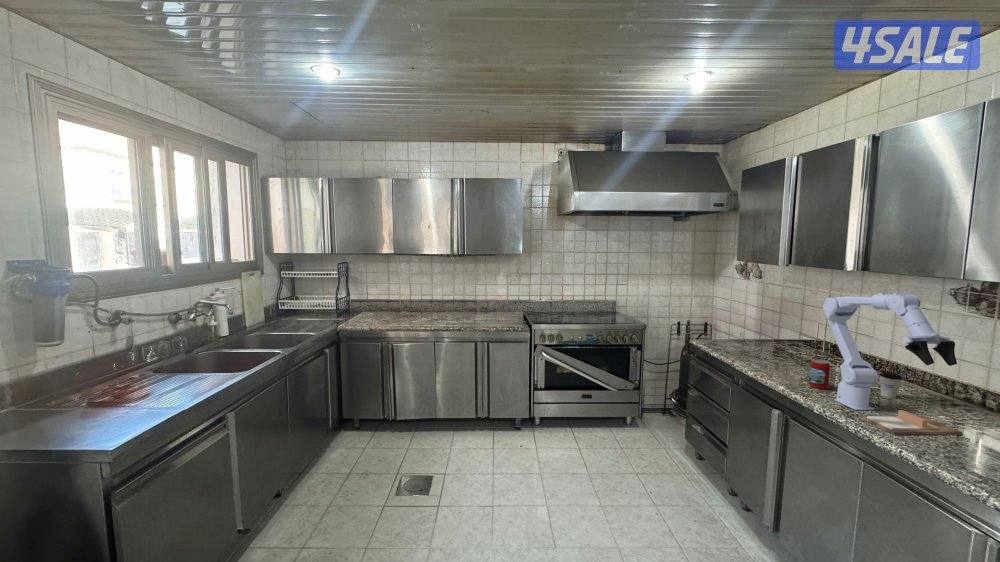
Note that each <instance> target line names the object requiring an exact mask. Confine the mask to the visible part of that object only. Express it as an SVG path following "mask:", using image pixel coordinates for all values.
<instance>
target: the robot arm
mask: <svg viewBox="0 0 1000 562" xmlns="http://www.w3.org/2000/svg"><path fill="white" fill-rule="evenodd" d="M921 304H922V303H921V299H920V298H919V296H917V295H915V294H910V293H908V294H900V293H899V292H895V293H894V292H893V293H889V294H888V293H886V292H879V293H876V294H873V295H872V296H857V295H856V296H852V295H851V296H836V297H835V296H834V297H828V298H826V299H825V301H824V303H823V306H822V309H823V311H824V313H825V316H826V318H827V323H828V325H829V328H830V330H831V332H832V334H833V337H834V340H835V342H836V344H837V345H836V346H837V347H838V349H839V352H840V353H841V356H842V358H843V363H842V364H841V365H840V366H839V368H840V371H841V373H840V374H841V375H840V376H841V378H842V380H841V381H840V382H839V383H838V385H837V392H836V398H834V401H835V402H838V403H839V404H842V405H844V406H846V407H848V408H851V409H853V410H855V411H875V410H876V408H874V407H873V406H872V407H871V406H869V404H870V396H871V388H872V387H873V385H874V384H876V383H877V382H878V380H879V376H878V373H877V371H876V370H875V369H874V368H873V367H872V364H871V363H869V362H868V361H866V360H864V359H863V358H862V356H861V354H860V352H859V349H858V347H857V345H856V342H855V341H854V338H853V335H852V333H851V331H850V329H849V326H848V325H847V321H849V320H850V319H851V318H852V317H853V316H854V315H855V313H856V312H857V311H858V309H859V308H860V307H861V306H871V307H872V308H873V309H874V310H875V309H876V310H886V311H894V313H895V314H896V315H897V316H898V317H899V318H900V320H901V321H902V323H903V324H904V325H903V326H904V327H905V328H906V329H907V331H908V333H909V335H908V336H907V335H906V336H905V337H903V338H901V339H902V342H903V343H904V344H905V346H904V347H905V349H906V350H908V351H910V352H911V353H913V355H915V356H916V357H917V358H918V359H920V361H921V362H922V363H923V364H924V365H925V366H930V365H932V364H935V361H934V359H933V356H932V354H931V353H930V350H929V346H928V345H933V344H934V345H936V346H935V347H932V350H934V351H935V352H936V353H937V354H939V356H940V357H941V358H942V360H943V361H944V362H945V363H946V365H947V366H950V367H951V366H956V365H957V364H958V361H957V359H956V358H957V357H956V353H955V347H956V343H955V341H954V340H951V337H949V336H947V337H946V336H942V335H941V334H940V333H939V332H936V330H935V329H934V328H933V327H932V325H931V324H930V322H929V320H928V319H927V317H926V316H925V314H924V313H923V311H922V309H921Z"/></svg>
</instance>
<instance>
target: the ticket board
mask: <svg viewBox="0 0 1000 562" xmlns="http://www.w3.org/2000/svg"><path fill="white" fill-rule="evenodd" d="M896 416H897V415H860V416H859V418H860V420H862V421H864V420H865V421H864V422H866V421H867V422H866V423H868V422H869V423H868V424H870V423H871V424H870V425H872V424H873V426H874V425H875V426H874V427H876V426H877V428H878V427H879V428H878V429H881V430H883V431H885V430H886V431H885V432H887V431H888V432H887V433H889V432H890V433H889V434H891V433H892V434H891V435H893V434H894V435H893V436H925V435H926V436H934V435H935V436H953V435H954V436H955V435H956V436H959V435H960V436H961V435H963V432H962V431H960V430H958V429H955V428H953V427H950V426H948V425H946V424H943V423H941V422H938V421H936V420H934V419H931V418H929V417H926V416H924V415H917V416H918V417H920V418H923V419H925V420H927V423H929V424H931V425H934V426H936V427H939V428H940V430H922V429H921V428H920V427H917V426H915V425H913V424H911V423H908V422H906V421H904V420H901V419H899V418H897V417H896Z"/></svg>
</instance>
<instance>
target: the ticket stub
mask: <svg viewBox="0 0 1000 562" xmlns="http://www.w3.org/2000/svg"><path fill="white" fill-rule="evenodd" d="M897 413H898V414H897V415H895V416H896V417H897V418H899V419H901V420H904V421H906V422H908V423H911V424H913V425H915V426H917V427H920V428H921V429H922V430H940V428H939V427H936V426H934V425H931V424H929V423H927V420H925V419H923V418H920V417H918V416H919V415H915V414H913V413H910V412H908V411H906V410H902V409H898V411H897Z"/></svg>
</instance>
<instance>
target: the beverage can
mask: <svg viewBox="0 0 1000 562" xmlns="http://www.w3.org/2000/svg"><path fill="white" fill-rule="evenodd" d="M809 369H810V370H809V377H808V378H809V379H808V385H809V386H811V387H812V388H814V387H815V388H814V389H817V388H819V389H818V390H825V389H828V388H829V382H830V375H831V374H830V373H831V365H830V362H829V361H827V360H823V359H813V360H812V361H811V362H810V367H809Z"/></svg>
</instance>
